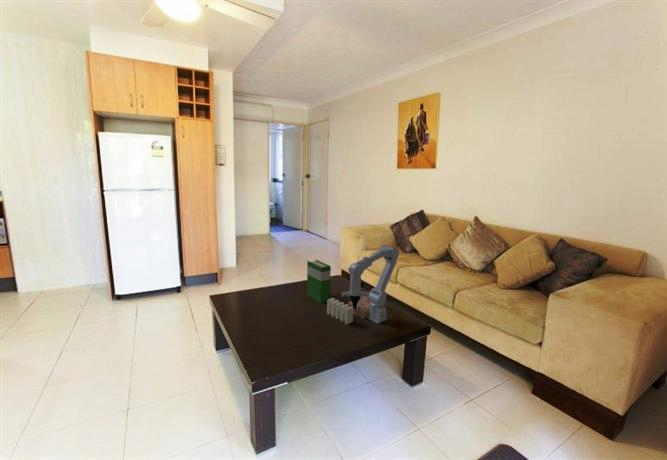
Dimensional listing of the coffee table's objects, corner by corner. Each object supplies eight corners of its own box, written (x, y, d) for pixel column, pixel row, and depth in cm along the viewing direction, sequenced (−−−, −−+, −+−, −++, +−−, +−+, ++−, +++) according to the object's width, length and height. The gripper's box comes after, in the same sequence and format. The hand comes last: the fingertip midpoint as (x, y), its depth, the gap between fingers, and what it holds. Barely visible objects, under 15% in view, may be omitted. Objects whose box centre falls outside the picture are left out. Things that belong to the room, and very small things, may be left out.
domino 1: (334, 312, 194) (335, 298, 192) (328, 314, 191) (329, 300, 189) (332, 311, 195) (333, 297, 193) (326, 313, 192) (327, 299, 190)
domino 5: (352, 321, 182) (353, 307, 180) (346, 324, 179) (347, 309, 177) (350, 320, 183) (351, 306, 181) (344, 323, 180) (345, 308, 178)
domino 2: (339, 314, 191) (339, 300, 189) (332, 316, 188) (333, 302, 186) (337, 313, 192) (337, 299, 190) (331, 315, 189) (331, 301, 187)
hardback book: (307, 294, 221) (307, 261, 217) (316, 292, 226) (316, 259, 221) (320, 303, 207) (321, 267, 203) (329, 300, 211) (330, 266, 207)
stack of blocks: (367, 293, 209) (383, 298, 201) (367, 302, 210) (383, 307, 202) (347, 302, 193) (363, 308, 185) (347, 312, 194) (363, 318, 186)
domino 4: (348, 319, 185) (348, 305, 183) (342, 321, 182) (342, 307, 180) (346, 318, 186) (346, 304, 184) (340, 320, 183) (340, 306, 181)
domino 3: (343, 317, 188) (343, 302, 186) (337, 319, 185) (337, 304, 183) (341, 316, 189) (342, 301, 187) (335, 318, 186) (336, 303, 184)
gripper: (367, 282, 178) (366, 305, 180) (341, 282, 177) (340, 305, 179) (369, 287, 171) (368, 310, 174) (342, 287, 170) (341, 310, 173)
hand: (354, 308), depth 176 cm, fingers closed
